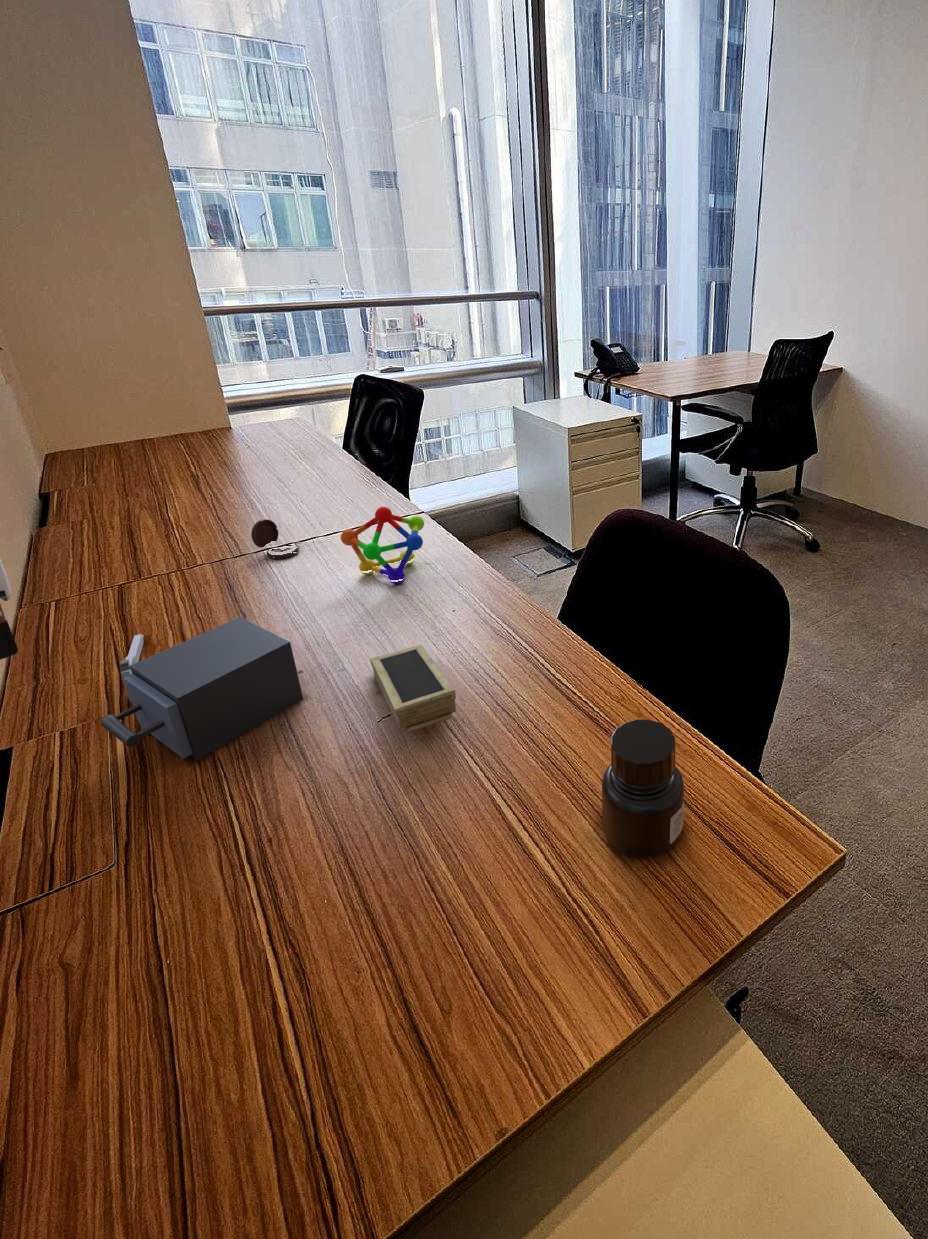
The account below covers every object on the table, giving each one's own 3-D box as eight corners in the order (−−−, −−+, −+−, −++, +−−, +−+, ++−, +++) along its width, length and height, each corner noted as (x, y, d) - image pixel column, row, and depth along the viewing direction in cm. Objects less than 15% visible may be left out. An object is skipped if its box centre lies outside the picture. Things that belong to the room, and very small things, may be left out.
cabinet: (197, 760, 83) (177, 698, 79) (149, 725, 89) (129, 665, 85) (303, 698, 94) (290, 641, 90) (254, 671, 100) (240, 616, 97)
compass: (284, 561, 136) (277, 529, 133) (254, 556, 138) (246, 524, 135) (312, 546, 143) (306, 515, 140) (283, 541, 145) (277, 511, 142)
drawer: (145, 780, 78) (126, 728, 75) (103, 745, 84) (83, 695, 81) (284, 700, 92) (273, 654, 89) (240, 675, 98) (228, 630, 95)
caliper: (140, 703, 93) (127, 666, 91) (131, 706, 93) (118, 669, 90) (144, 637, 109) (133, 604, 107) (136, 639, 109) (125, 606, 106)
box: (402, 746, 83) (395, 710, 82) (366, 681, 102) (361, 651, 100) (465, 724, 87) (460, 689, 86) (420, 665, 106) (415, 636, 105)
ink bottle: (696, 852, 70) (700, 764, 65) (616, 873, 67) (615, 783, 63) (664, 786, 78) (666, 704, 74) (593, 802, 76) (590, 719, 71)
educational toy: (378, 605, 121) (357, 533, 114) (350, 581, 130) (329, 513, 123) (452, 571, 130) (436, 503, 123) (421, 551, 139) (406, 486, 132)
